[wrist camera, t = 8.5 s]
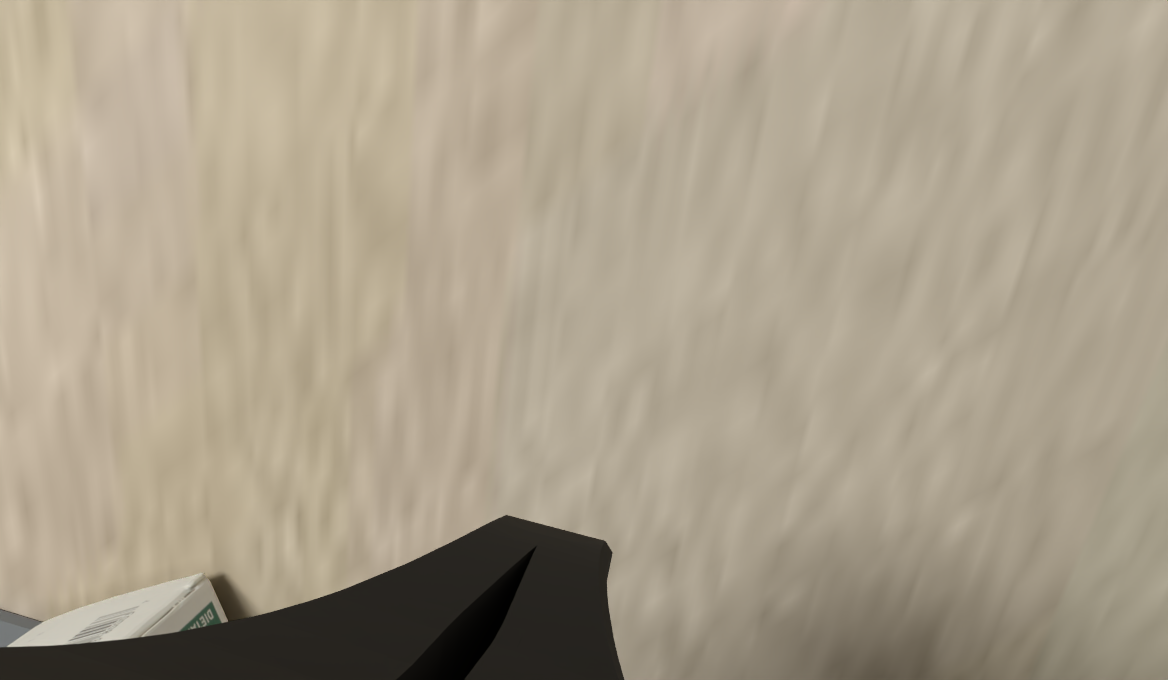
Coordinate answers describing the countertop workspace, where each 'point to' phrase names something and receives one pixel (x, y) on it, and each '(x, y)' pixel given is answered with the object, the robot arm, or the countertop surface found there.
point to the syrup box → (133, 615)
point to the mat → (14, 627)
